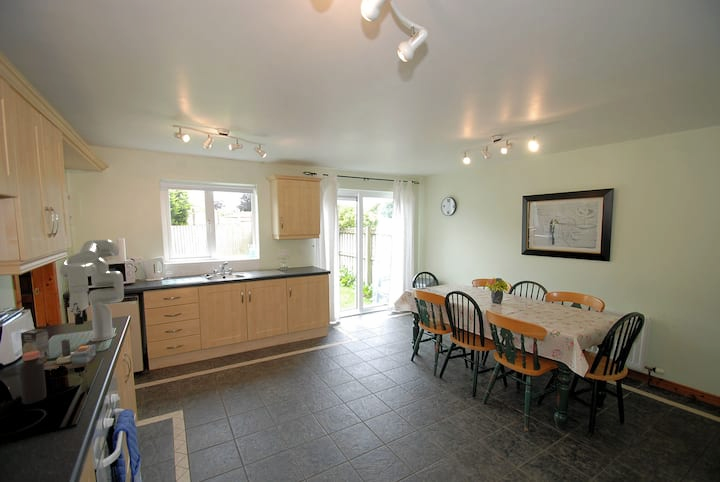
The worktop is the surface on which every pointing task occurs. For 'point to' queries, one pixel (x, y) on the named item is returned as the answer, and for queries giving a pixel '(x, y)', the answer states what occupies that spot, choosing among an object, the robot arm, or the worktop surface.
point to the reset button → (83, 348)
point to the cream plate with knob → (65, 352)
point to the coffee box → (35, 341)
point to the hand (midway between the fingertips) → (81, 322)
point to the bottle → (32, 378)
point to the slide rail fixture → (77, 359)
